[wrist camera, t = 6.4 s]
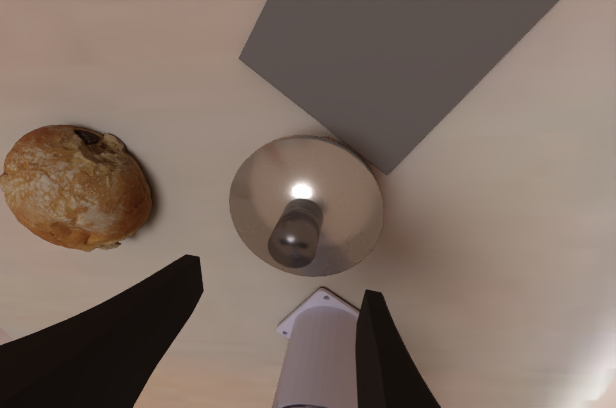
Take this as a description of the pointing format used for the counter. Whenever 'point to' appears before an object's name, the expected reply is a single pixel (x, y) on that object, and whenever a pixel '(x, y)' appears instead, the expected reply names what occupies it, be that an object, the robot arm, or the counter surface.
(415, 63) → the plate
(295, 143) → the lid
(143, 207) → the bread roll
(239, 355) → the counter surface
